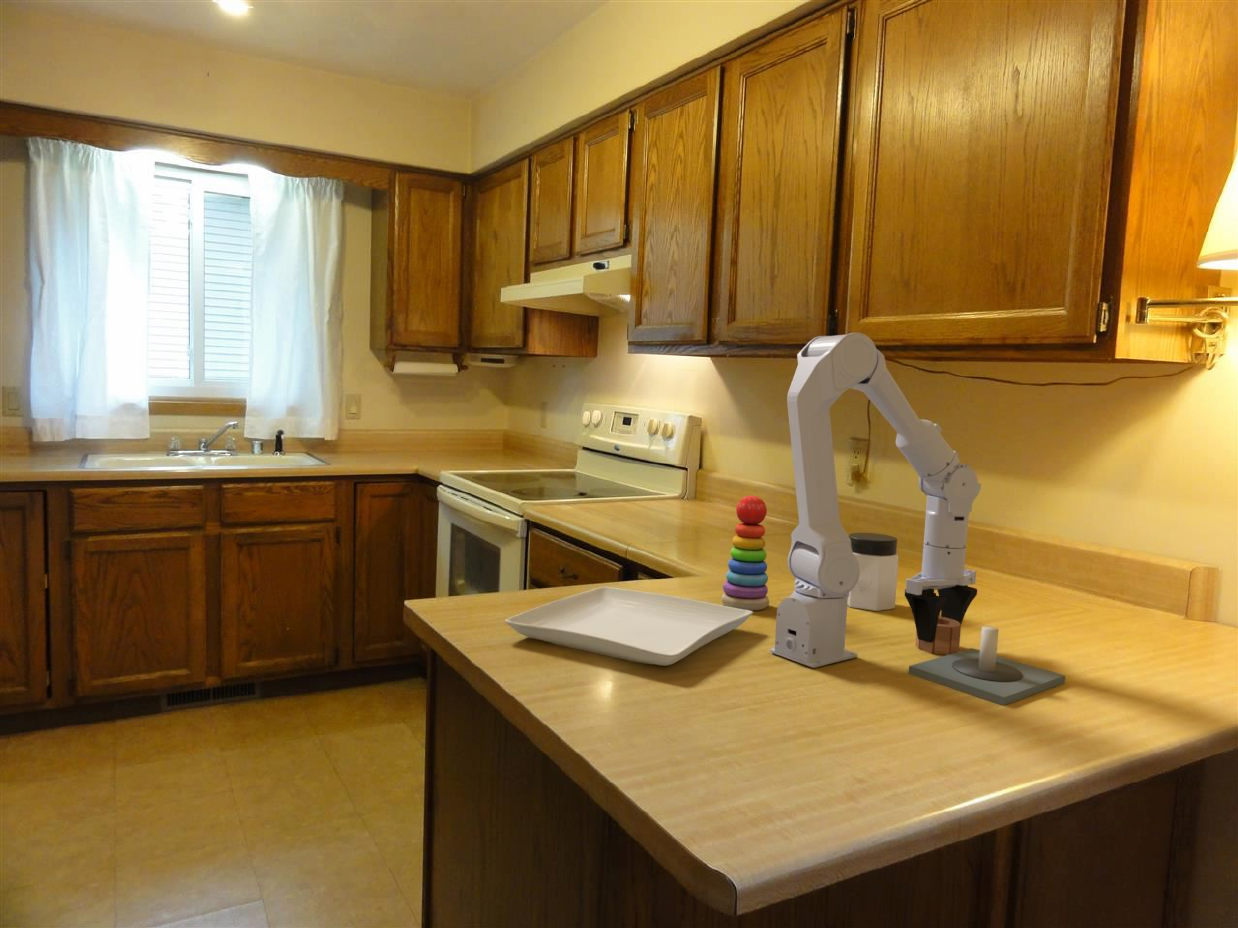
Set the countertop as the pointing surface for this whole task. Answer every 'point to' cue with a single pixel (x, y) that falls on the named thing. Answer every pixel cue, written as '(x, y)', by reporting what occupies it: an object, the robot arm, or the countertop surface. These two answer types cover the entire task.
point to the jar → (874, 571)
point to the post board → (987, 673)
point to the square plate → (629, 624)
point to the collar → (943, 638)
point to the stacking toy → (748, 559)
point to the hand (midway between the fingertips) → (937, 637)
